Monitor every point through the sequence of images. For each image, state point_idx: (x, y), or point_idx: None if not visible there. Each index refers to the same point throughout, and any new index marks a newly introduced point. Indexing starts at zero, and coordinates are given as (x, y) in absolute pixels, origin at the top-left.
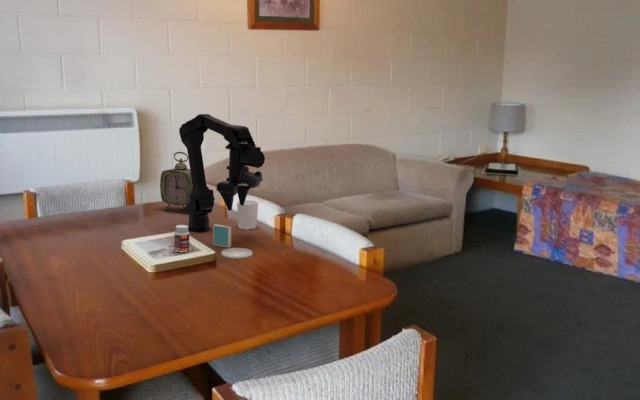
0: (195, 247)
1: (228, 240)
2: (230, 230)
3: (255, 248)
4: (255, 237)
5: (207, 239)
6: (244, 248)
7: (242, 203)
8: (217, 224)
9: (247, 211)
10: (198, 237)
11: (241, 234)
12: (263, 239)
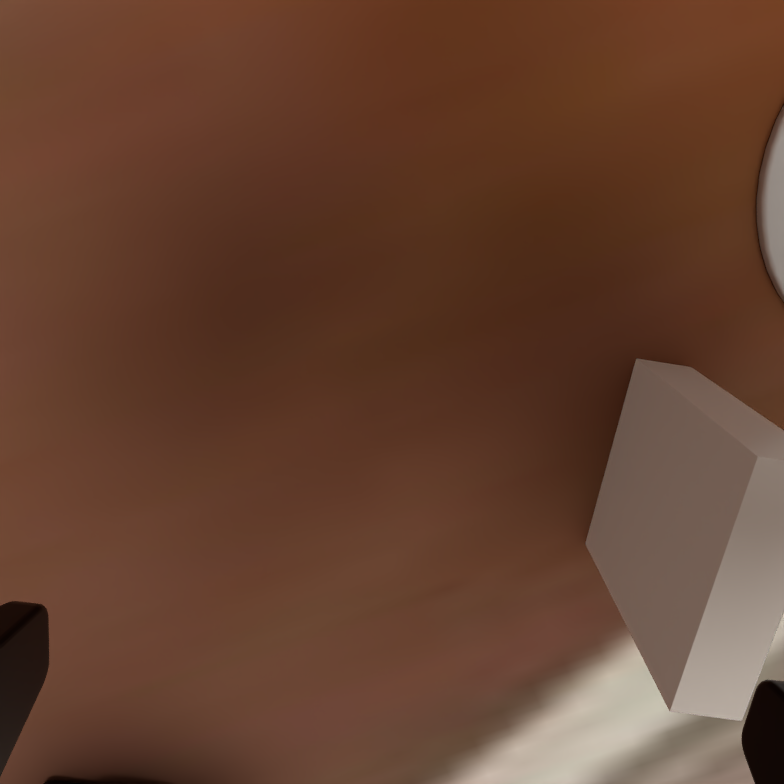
0: (768, 667)
1: (728, 397)
2: (750, 435)
3: (649, 22)
4: (127, 202)
5: (444, 668)
6: (781, 141)
7: (21, 656)
8: (683, 684)
9: None
10: (405, 762)
11: (81, 416)
12: (171, 58)
